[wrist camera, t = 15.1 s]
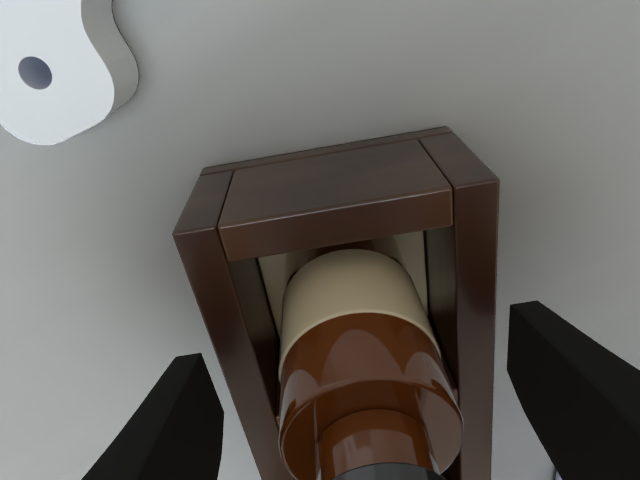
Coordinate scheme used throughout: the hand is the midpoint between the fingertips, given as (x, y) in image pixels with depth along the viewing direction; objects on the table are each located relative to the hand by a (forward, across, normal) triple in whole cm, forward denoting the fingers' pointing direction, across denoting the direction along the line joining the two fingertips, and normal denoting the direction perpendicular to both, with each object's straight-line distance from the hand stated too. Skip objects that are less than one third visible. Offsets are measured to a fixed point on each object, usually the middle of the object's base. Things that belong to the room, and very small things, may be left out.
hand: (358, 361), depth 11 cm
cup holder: (+5, 0, +6) cm, 8 cm away
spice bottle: (+4, 0, 0) cm, 4 cm away
